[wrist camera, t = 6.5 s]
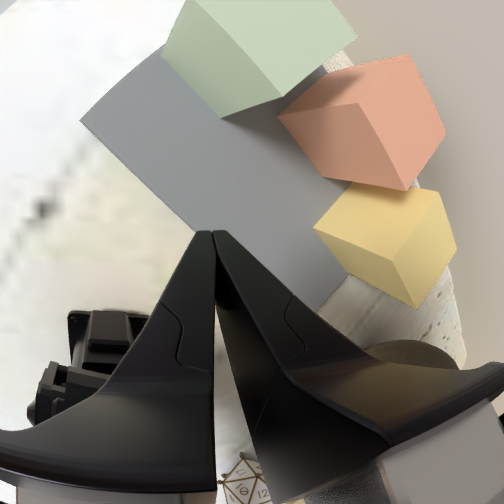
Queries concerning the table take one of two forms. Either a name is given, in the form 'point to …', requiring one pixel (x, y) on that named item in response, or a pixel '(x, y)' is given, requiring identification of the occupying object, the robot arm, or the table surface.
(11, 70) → the table surface
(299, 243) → the grey mat
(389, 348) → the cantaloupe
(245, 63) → the sage block
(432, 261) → the mustard block
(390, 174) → the terracotta block
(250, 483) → the grey spiked polyhedron
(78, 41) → the table surface
